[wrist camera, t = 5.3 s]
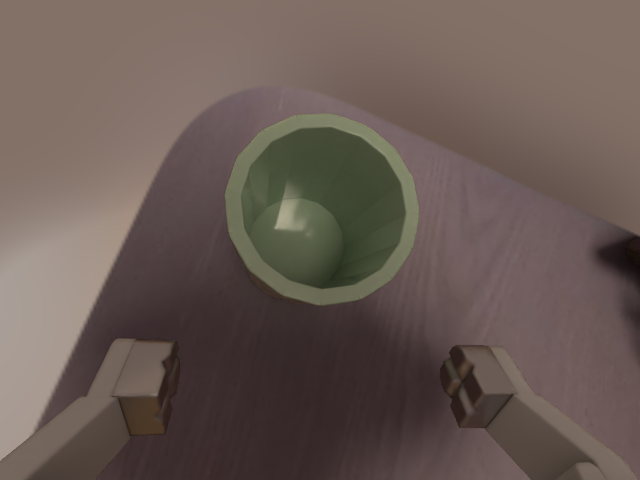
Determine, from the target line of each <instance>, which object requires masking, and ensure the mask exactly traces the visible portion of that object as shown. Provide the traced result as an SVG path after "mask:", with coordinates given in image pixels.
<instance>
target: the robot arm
mask: <svg viewBox="0 0 640 480" xmlns="http://www.w3.org/2000/svg"><path fill="white" fill-rule="evenodd" d="M178 349H179V348H178V342H177V341H173V340H150V339H121V338H116V340H115V341H114V342H113V343H112V344H111V346H110V348H109V350H108V352H107V354H106V356H105V358H104V361H103V363H102V365H101V367H100V369H99V371H98V373H97V375H96V377H95V379H94V381H93V384H92V386H91V388H90V390H89V392H88V394H87V396H86V397H79V398H78V399H77V400H75V401H74V402H73V403H72V404H70V405H69V406H68V407H67V408H65V409H64V410H63V411H62V412H60V413H59V414H58V415H57V416H56V417H54V418H53V419H52V420H51V421H49V422H48V423H47V424H46V425H44V426H43V427H42V428H41V429H39V430H38V431H37V432H36V433H34V434H33V435H32V436H31V437H29V438H28V439H27V440H26V441H24V442H23V443H22V444H21V445H20V446H18V447H17V448H16V449H15V450H13V451H12V452H11V453H10V454H8V455H7V456H6V457H5V458H3V459H2V460H1V461H0V480H95V479H96V478H97V477H98V475H99V474H100V473H101V472H102V471H103V470H104V468H105V467H106V466H107V465H108V464H109V463H110V462H111V460H112V459H113V458H114V457H115V456H116V455H117V453H118V452H119V451H120V450H121V449H122V448H123V447H124V445H125V444H126V443H127V442H128V441H129V440H130V439H131V438H130V436H144V435H164V434H166V431H167V427H168V424H169V420H170V416H171V412H172V405H171V398H172V397H173V396H174V395H175V394H176V393H177V388H178V384H179V378H180V366H181V364H180V358H178V357H177V352H178ZM449 354H450V356H451V357H450V358H449V359H447V360H445V361H444V362H443V364H442V366H441V368H440V379H441V384H442V387H443V389H444V392H445V393H446V394H447V395H448V396H449V397H450V398H452V401H451V405H450V407H451V409H452V411H453V414H454V416H455V419H456V421H457V423H458V426H459V428H486V429H485V430H486V431H487V432H488V433H489V434H490V435H491V436H492V437H493V439H494V440H495V441H496V442H497V443H498V444H499V445H500V446H501V447H502V448H503V449H504V450H505V452H506V453H507V454H508V455H509V456H510V457H511V458H512V459H513V460H514V461H515V462H516V463H517V465H518V466H519V467H520V468H521V469H522V470H523V471H524V472H525V473H526V474H527V475H528V477H529V478H530V479H531V480H638V478H637V477H636V476H635V474H634V473H633V472H632V470H631V469H630V467H629V466H628V465H627V463H626V462H625V461H624V459H622V458H621V457H620V456H618V455H617V454H616V453H614V452H613V451H612V450H611V449H609V448H608V447H607V446H605V445H604V444H603V443H601V442H600V441H599V440H598V439H596V438H595V437H594V436H592V435H591V434H590V433H588V432H587V431H586V430H584V429H583V428H582V427H581V426H579V425H578V424H577V423H575V422H574V421H573V420H571V419H570V418H569V417H568V416H566V415H565V414H564V413H562V412H561V411H560V410H558V409H557V408H556V407H555V406H553V405H552V404H551V403H549V402H548V401H547V400H545V399H544V398H543V397H542V396H540V395H539V394H534V393H533V391H532V390H531V388H530V387H529V385H528V384H527V382H526V380H525V379H524V377H523V376H522V374H521V373H520V371H519V369H518V368H517V366H516V365H515V363H514V362H513V360H512V358H511V357H510V355H509V354H508V352H507V351H506V349H504V348H503V347H502V346H484V345H456V346H454V347H452V348H451V350H450V352H449Z"/></svg>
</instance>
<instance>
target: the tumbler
mask: <svg viewBox="0 0 640 480" xmlns="http://www.w3.org/2000/svg"><path fill="white" fill-rule="evenodd" d="M224 197H225V207H226V217H227V227H228V233H229V237H230V239H231V241H232V243H233V245H234V247H235V250H236V252H237V254H238V256H239V258H240V260H241V263H242V265H243V266H244V268H245V270H246V272H247V274H248V275H249V277H250V279H251V281H252V282H253V283H254V284H255V285H256V286H258V287H259V288H260V289H261V290H262V291H264V292H265V293H267V294H268V295H269V296H271V297H273V298H277V299H281V300H285V301H288V302H292V303H300V304H309V305H317V306H325V305H332V304H339V303H346V302H353V301H358V300H361V299H363V298H364V297H366V296H368V295H369V294H371V293H372V292H374V291H376V290H377V289H379V288H381V287H382V286H384V285H385V284H387V283H389V282H390V281H391V280H392V279H393V278H394V277H395V275H396V274H397V272H398V271H399V269H400V268H401V266H402V265H403V263H404V262H405V260H406V259H407V258H408V256H409V255H410V253H411V252H412V249H413V246H414V241H415V236H416V231H417V226H418V221H419V213H420V212H419V207H418V201H417V196H416V190H415V185H414V180H413V177H412V175H411V174H410V172H409V170H408V169H407V167H406V165H405V164H404V162H403V160H402V159H401V157H400V155H399V154H398V152H397V150H396V149H394V147H393V146H392V145H391V144H389V143H388V142H387V141H386V140H384V139H383V138H382V137H381V136H379V135H378V134H377V133H376V132H374V131H373V130H372V129H371V128H369V127H368V126H366V125H365V124H362V123H359V122H356V121H353V120H350V119H347V118H344V117H341V116H338V115H335V114H330V113H328V114H302V115H296V116H295V115H294V116H292V117H289V118H287V119H285V120H283V121H280V122H278V123H276V124H274V125H272V126H269V127H267V128H265V129H263V130H262V131H260V132H259V133H258V134H257V136H256V137H255V138H254V139H253V140H252V141H251V142H250V143H249V144H248V145H247V146H246V148H245V149H244V150H243V151H242V152H241V153H240V154H239V155H238V156H237V158H236V160H235V163H234V166H233V169H232V172H231V175H230V178H229V181H228V184H227V187H226V190H225V196H224Z"/></svg>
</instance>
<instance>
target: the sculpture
mask: <svg viewBox="0 0 640 480" xmlns="http://www.w3.org/2000/svg"><path fill="white" fill-rule="evenodd" d="M626 250H627V253H628V257H629V258H630V259H631V260H632V261H634V262H635V263H636V264H638V265H640V238H638V239H635V240H632V241H631V242H630V243H629V244H628V246H627V247H626Z"/></svg>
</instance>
